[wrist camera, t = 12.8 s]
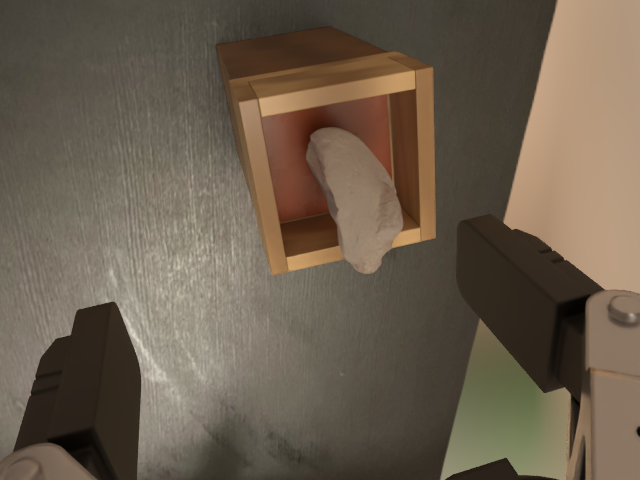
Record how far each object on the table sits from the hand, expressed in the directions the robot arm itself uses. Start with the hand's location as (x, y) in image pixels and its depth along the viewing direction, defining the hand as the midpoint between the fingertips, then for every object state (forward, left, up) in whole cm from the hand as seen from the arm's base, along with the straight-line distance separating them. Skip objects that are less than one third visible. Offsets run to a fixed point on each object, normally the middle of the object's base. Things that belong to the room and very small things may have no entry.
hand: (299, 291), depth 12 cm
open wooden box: (+5, -4, -19) cm, 20 cm away
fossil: (+5, -3, -18) cm, 19 cm away
